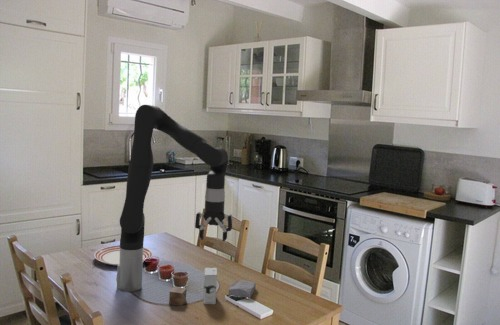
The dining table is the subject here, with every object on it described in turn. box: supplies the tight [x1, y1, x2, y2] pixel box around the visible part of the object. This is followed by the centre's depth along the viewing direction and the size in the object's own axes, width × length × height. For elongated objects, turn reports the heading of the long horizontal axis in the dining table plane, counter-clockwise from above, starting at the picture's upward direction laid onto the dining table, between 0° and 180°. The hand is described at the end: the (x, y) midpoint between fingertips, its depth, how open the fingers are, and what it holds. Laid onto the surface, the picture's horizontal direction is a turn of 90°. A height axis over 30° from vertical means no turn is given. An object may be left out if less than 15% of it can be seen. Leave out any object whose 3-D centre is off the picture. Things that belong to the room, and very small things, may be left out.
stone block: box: [228, 279, 256, 299], centre depth 184 cm, size 12×5×10 cm
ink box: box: [203, 267, 218, 305], centre depth 174 cm, size 8×5×12 cm, turn 5°
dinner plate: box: [93, 244, 154, 267], centre depth 215 cm, size 27×27×3 cm
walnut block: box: [168, 286, 187, 307], centre depth 171 cm, size 5×5×5 cm
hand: (213, 239), depth 173 cm, fingers open, 8 cm apart
